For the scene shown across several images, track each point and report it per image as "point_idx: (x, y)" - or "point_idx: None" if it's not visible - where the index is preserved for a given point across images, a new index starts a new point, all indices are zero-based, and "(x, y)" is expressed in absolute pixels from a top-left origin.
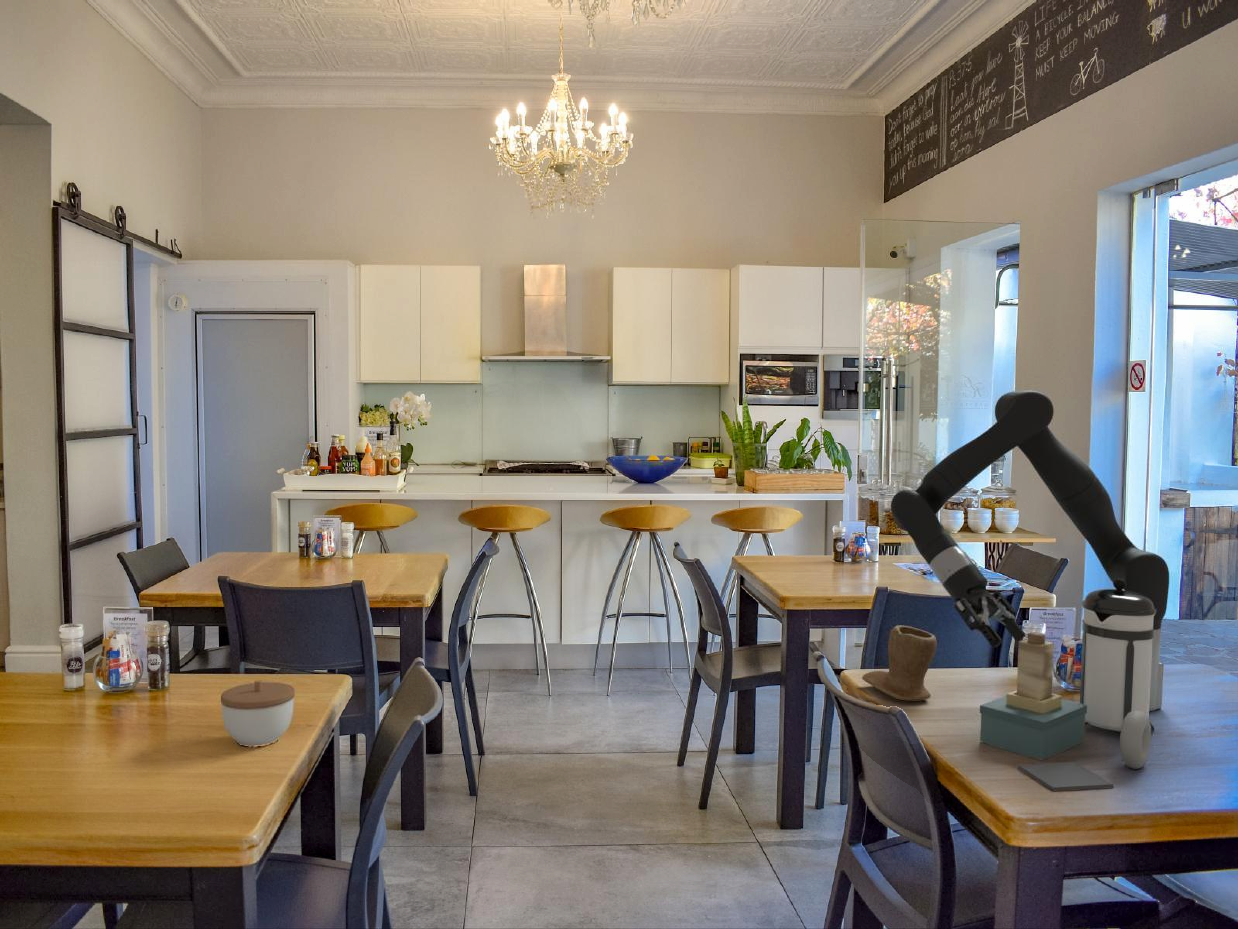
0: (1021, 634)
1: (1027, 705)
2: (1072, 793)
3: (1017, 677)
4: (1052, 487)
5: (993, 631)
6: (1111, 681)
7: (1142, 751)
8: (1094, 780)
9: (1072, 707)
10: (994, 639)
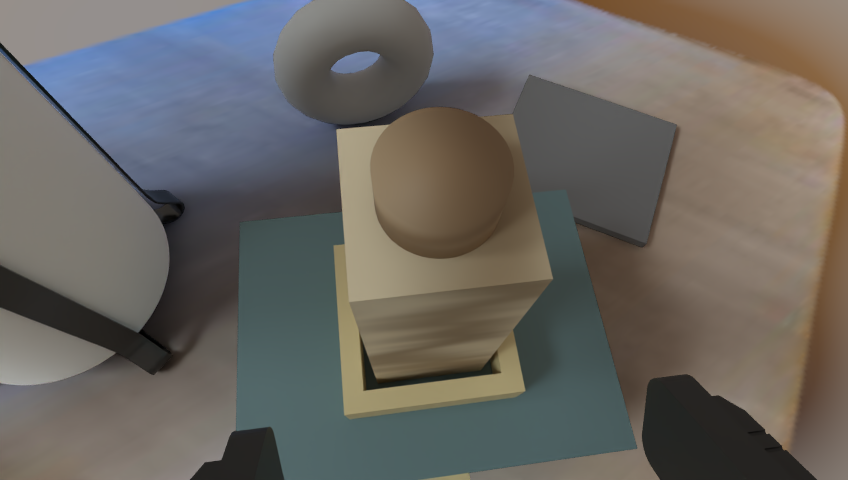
0: (269, 448)
1: None
2: (639, 106)
3: (501, 343)
4: None
5: (761, 449)
6: (80, 150)
7: (349, 73)
8: (551, 102)
9: (314, 234)
10: (741, 410)
